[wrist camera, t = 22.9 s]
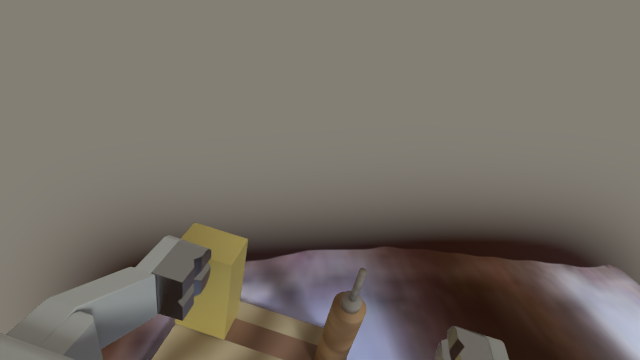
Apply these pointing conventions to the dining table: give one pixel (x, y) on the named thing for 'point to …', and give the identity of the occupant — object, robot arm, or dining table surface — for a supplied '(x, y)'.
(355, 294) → the awl
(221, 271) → the block
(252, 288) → the dining table surface
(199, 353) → the plywood panel
